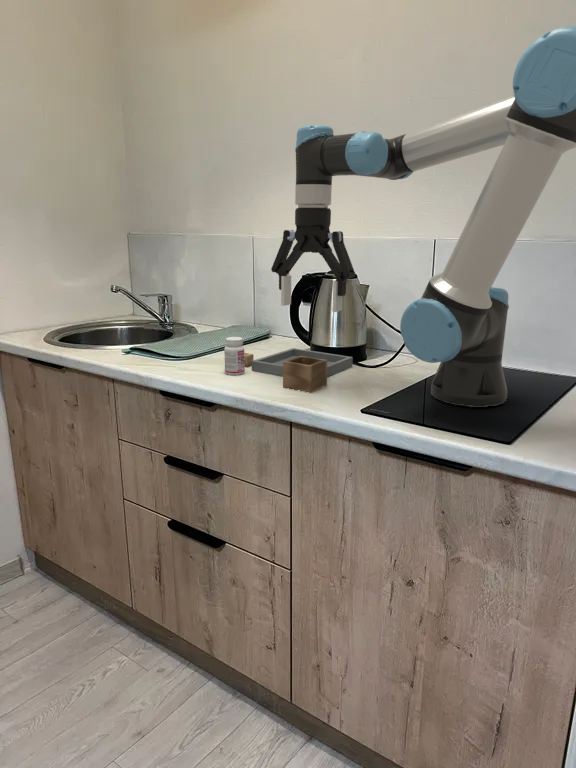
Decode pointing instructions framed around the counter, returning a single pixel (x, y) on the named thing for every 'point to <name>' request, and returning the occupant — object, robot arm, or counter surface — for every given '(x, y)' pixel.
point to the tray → (275, 361)
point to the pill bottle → (234, 356)
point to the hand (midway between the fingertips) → (310, 308)
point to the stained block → (248, 359)
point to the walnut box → (305, 373)
